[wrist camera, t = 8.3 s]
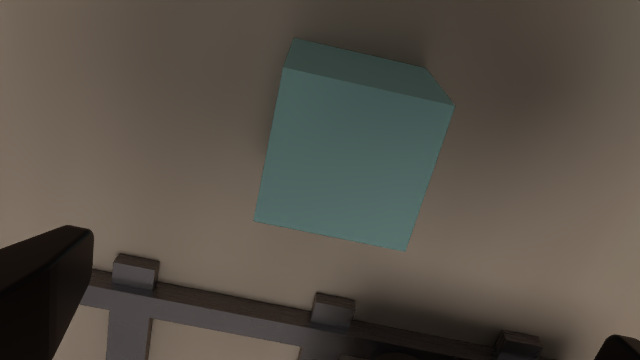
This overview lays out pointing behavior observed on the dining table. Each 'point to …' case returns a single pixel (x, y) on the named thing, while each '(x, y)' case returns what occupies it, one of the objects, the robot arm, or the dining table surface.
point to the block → (351, 145)
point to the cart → (395, 357)
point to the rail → (267, 321)
